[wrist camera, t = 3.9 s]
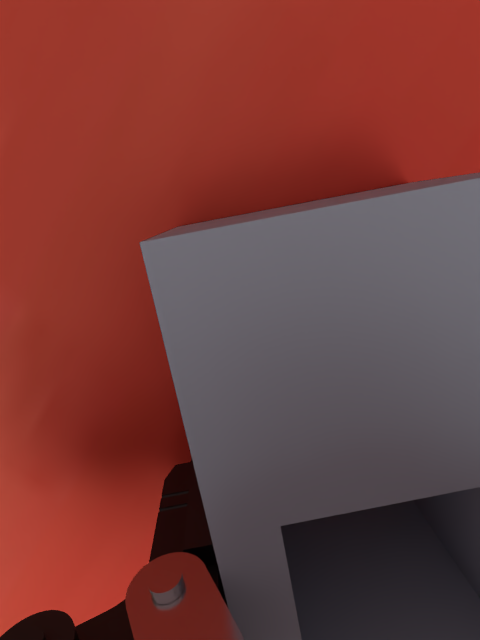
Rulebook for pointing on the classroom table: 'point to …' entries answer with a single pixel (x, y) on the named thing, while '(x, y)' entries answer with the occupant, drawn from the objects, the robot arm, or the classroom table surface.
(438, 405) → the grey rectangular block
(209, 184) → the classroom table surface
